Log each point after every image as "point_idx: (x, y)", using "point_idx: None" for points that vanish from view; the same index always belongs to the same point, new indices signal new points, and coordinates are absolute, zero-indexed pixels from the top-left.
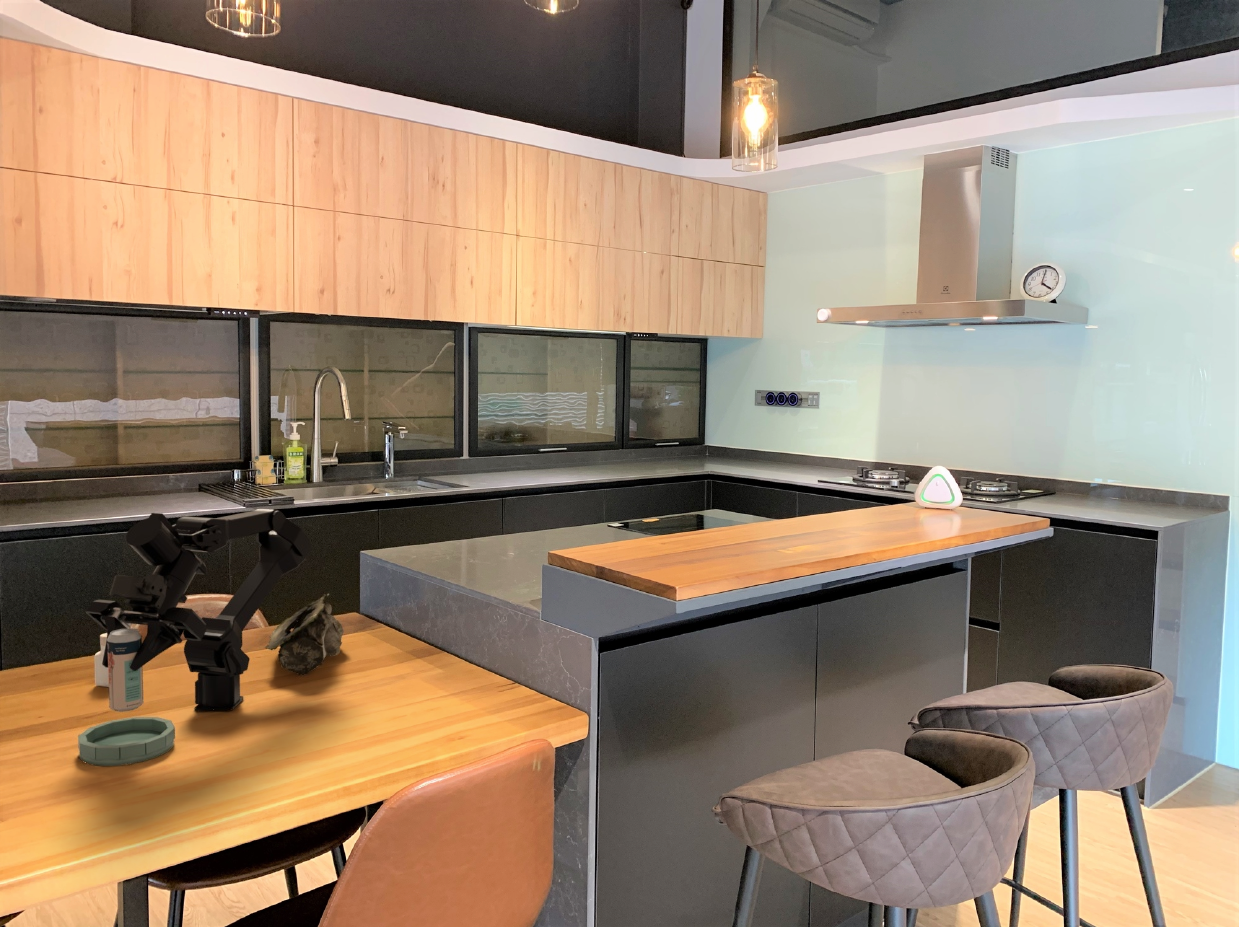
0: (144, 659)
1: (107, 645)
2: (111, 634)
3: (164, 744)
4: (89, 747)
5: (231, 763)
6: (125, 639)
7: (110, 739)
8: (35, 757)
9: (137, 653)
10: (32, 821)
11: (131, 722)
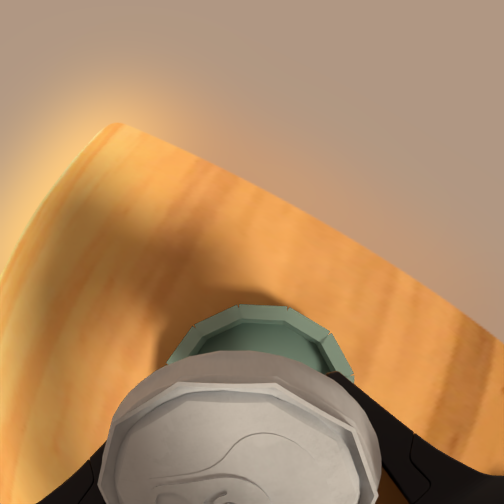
0: None
1: (392, 430)
2: (269, 385)
3: None
4: (256, 305)
5: (61, 396)
6: (123, 405)
7: None
8: (372, 290)
9: None
10: (169, 164)
11: None
